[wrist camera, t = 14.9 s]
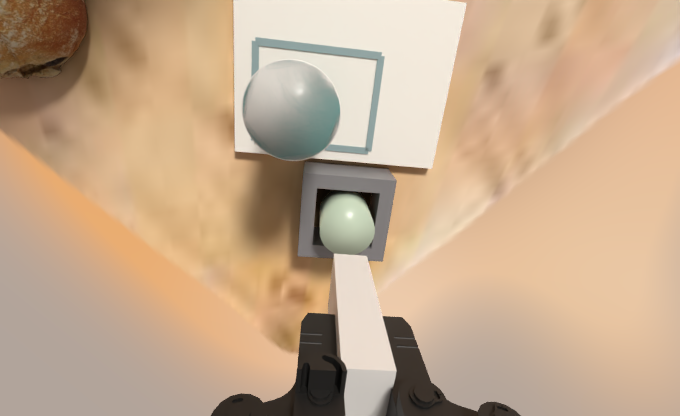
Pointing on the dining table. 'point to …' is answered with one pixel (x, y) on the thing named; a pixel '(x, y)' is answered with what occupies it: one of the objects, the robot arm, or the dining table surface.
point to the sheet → (359, 68)
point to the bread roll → (39, 35)
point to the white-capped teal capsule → (291, 109)
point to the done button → (345, 222)
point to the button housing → (347, 180)
